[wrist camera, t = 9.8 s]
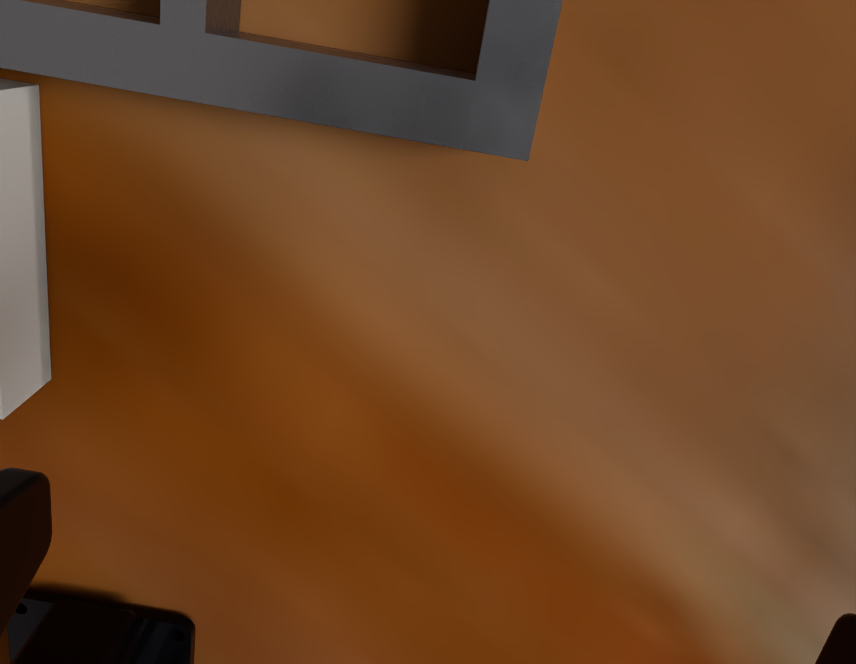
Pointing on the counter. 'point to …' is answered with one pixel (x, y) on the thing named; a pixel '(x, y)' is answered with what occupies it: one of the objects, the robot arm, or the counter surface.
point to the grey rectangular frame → (296, 69)
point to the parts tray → (22, 248)
